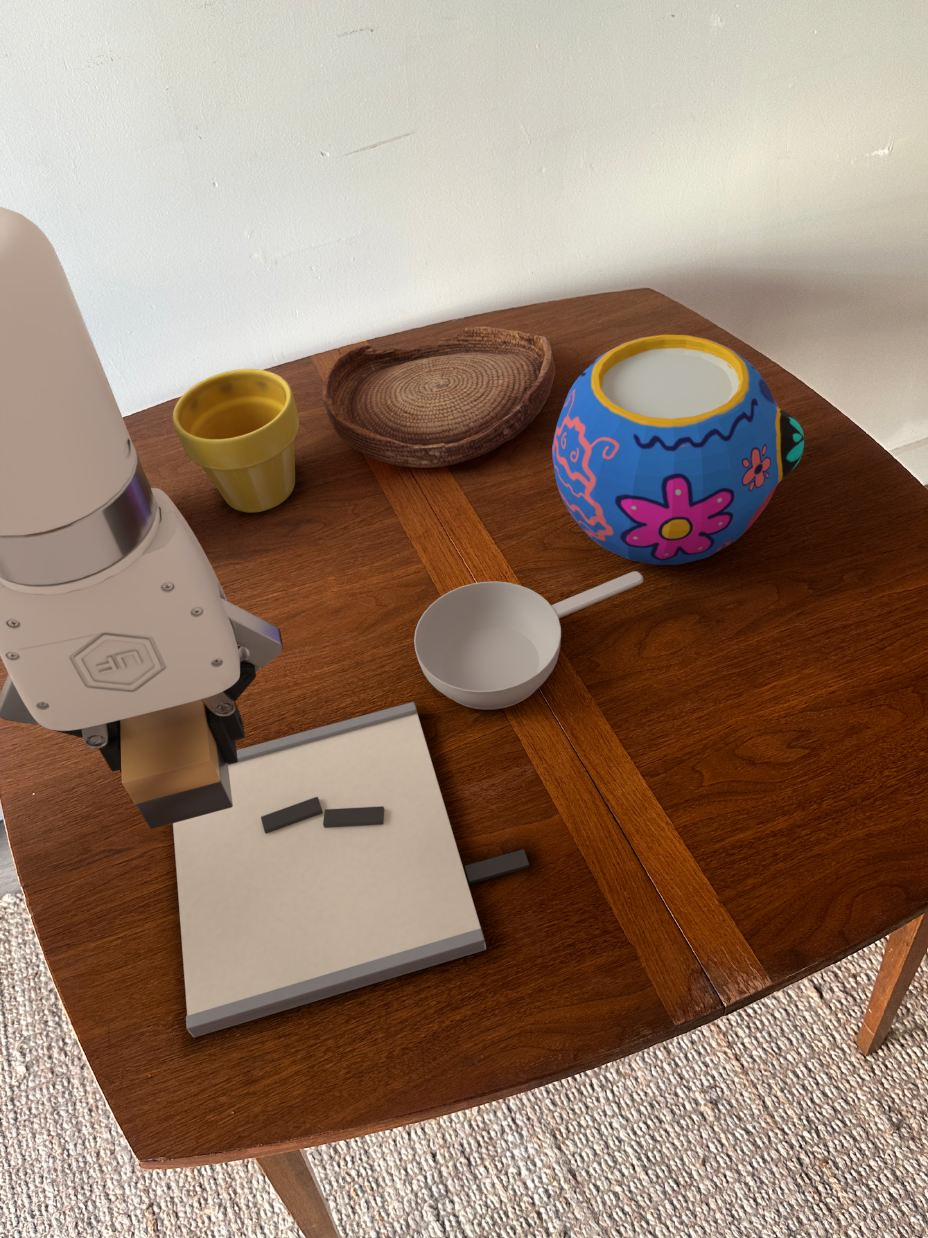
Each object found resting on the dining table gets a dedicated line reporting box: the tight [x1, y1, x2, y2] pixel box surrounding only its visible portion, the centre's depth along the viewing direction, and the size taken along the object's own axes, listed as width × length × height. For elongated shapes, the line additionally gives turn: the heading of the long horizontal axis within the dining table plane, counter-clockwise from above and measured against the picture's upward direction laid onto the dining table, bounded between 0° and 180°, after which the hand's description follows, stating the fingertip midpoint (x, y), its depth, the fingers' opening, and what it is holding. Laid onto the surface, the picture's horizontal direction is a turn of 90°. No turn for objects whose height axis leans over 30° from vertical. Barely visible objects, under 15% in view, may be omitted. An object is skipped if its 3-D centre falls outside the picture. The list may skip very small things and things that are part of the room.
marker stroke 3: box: [464, 848, 530, 885], centre depth 65 cm, size 4×1×1 cm, turn 104°
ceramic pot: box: [551, 334, 806, 566], centre depth 80 cm, size 18×18×15 cm
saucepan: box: [413, 570, 644, 711], centre depth 76 cm, size 11×18×4 cm, turn 112°
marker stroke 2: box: [323, 806, 384, 828], centre depth 68 cm, size 4×1×1 cm, turn 90°
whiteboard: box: [172, 701, 487, 1038], centre depth 67 cm, size 18×19×1 cm
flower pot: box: [172, 368, 300, 514], centre depth 90 cm, size 10×10×10 cm
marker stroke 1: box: [261, 797, 323, 833], centre depth 68 cm, size 4×1×1 cm, turn 110°
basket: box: [321, 326, 556, 469], centre depth 97 cm, size 22×20×5 cm
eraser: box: [120, 700, 233, 830], centre depth 56 cm, size 4×8×4 cm, turn 15°
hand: (182, 753), depth 57 cm, fingers closed on eraser, 4 cm apart
